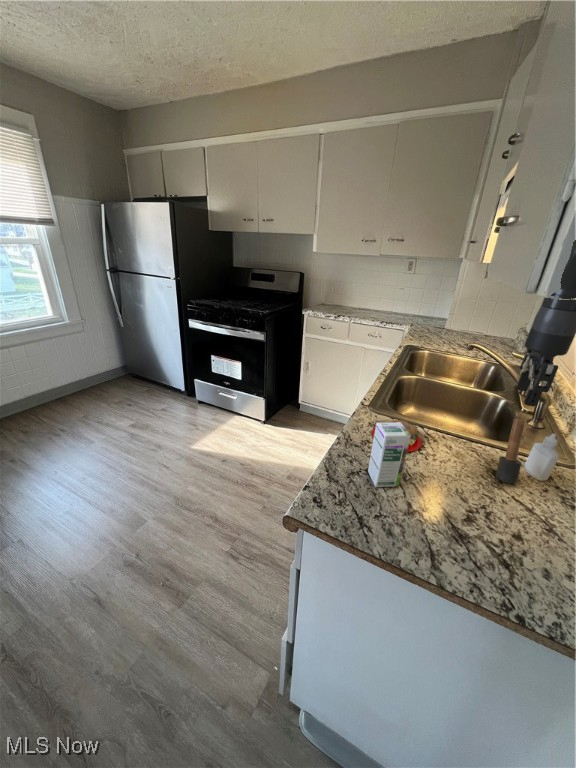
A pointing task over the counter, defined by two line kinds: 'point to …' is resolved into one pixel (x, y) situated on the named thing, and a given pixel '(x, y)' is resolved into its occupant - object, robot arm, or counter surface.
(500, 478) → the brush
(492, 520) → the counter surface
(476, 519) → the counter surface
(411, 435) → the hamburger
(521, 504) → the counter surface
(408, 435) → the syrup box
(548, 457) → the eye dropper bottle
